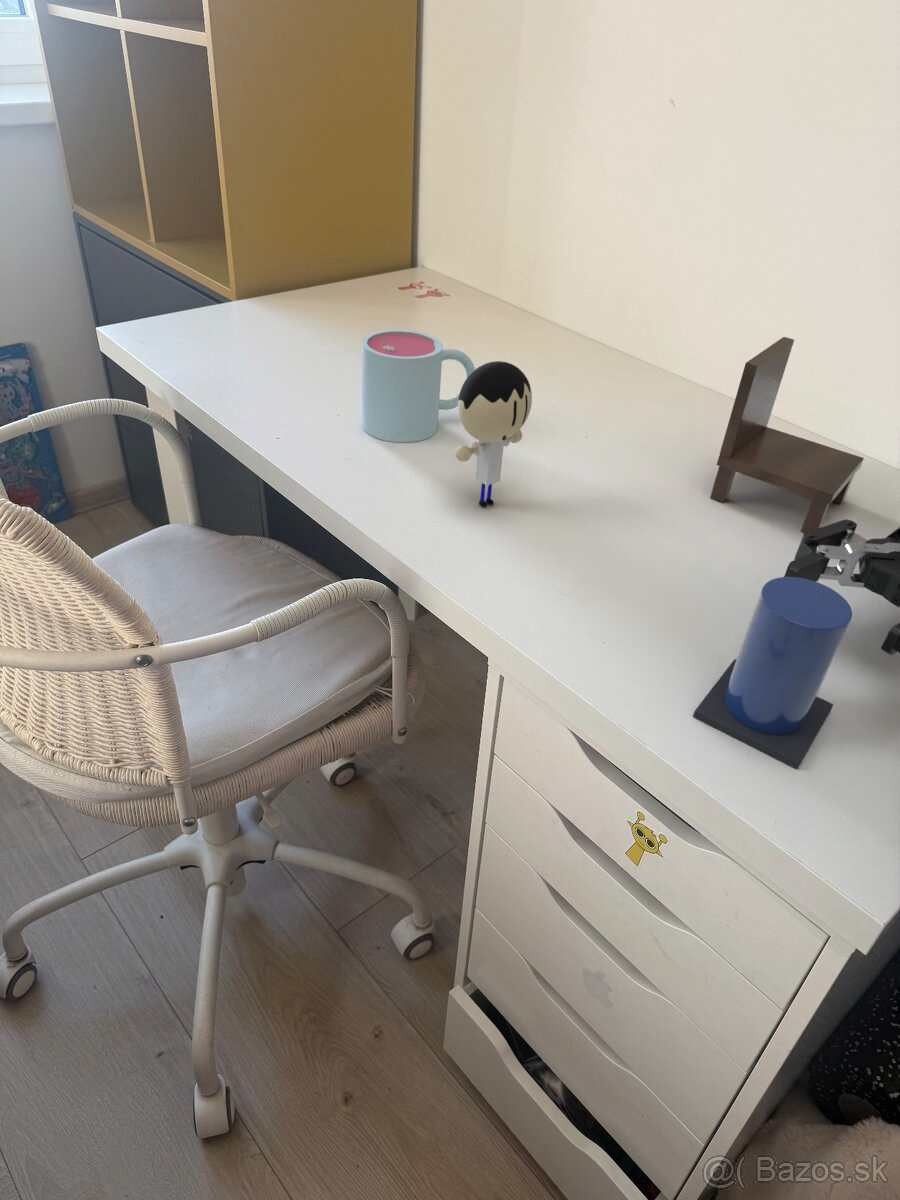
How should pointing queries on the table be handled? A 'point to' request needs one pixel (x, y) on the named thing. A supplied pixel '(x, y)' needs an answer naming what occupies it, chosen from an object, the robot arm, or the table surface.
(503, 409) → the toy
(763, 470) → the miniature wooden chair
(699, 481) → the table surface
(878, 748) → the table surface
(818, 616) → the canister
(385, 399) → the mug
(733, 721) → the mat
